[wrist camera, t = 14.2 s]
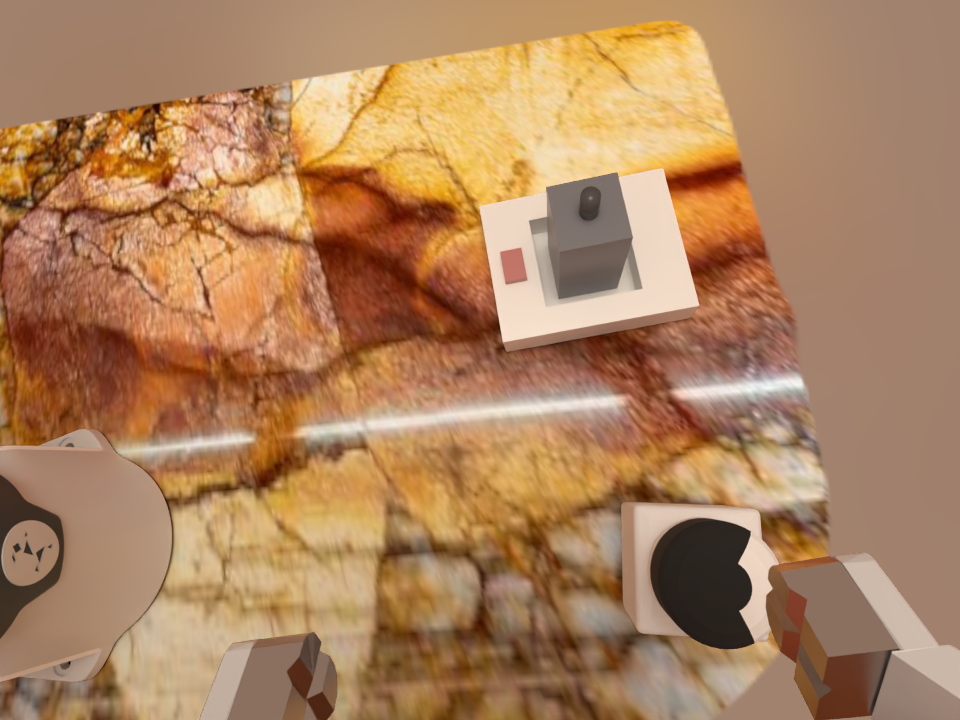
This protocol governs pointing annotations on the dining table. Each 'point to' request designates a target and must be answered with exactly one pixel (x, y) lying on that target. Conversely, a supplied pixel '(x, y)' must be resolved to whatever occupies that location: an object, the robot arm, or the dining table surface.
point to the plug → (587, 234)
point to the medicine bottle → (696, 572)
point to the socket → (634, 303)
